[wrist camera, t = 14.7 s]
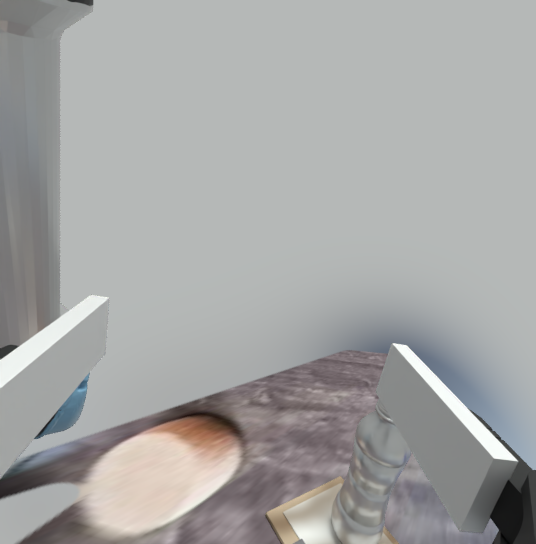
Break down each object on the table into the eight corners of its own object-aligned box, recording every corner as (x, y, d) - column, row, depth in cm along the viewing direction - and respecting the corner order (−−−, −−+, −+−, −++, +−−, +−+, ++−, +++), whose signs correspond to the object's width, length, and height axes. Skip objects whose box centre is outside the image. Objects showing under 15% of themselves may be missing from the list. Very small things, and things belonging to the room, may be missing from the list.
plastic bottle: (326, 550, 39) (370, 410, 34) (328, 500, 45) (365, 377, 40) (380, 570, 38) (434, 430, 33) (374, 516, 44) (418, 392, 39)
